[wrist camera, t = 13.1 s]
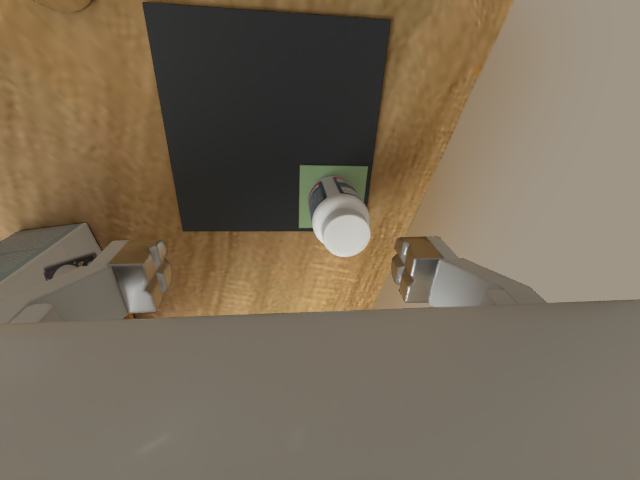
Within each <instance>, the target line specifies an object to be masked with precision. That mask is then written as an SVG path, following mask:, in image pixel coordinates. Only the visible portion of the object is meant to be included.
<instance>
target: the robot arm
mask: <svg viewBox="0 0 640 480" xmlns="http://www.w3.org/2000/svg"><path fill="white" fill-rule="evenodd" d="M394 249H395V250H396V252H397V254H396V255H395V256H394V257H393V258H392V264H391V273H392V277H393V280H394V282H395V283H396V284H398V285H399V286H400V288H399V292H400V294H401V296H402V298H403V300H404V302H405V303H429V304H430V305H431V306H432V307H429V308H403V309H379V310H351V311H326V312H300V313H274V314H248V315H222V316H196V317H170V318H143V319H123V318H124V317H126V316H127V315H128V314H129V313H145V312H156V311H157V309H158V307H159V305H160V303H161V301H162V299H163V296H162V293H163V292H164V291H166V290H168V288H169V286H170V283H171V277H172V272H171V265H170V263H169V262H168V261H167V260H166V259H165V258H164V257H165V255H166V253H167V249H166V245H165V243H164V242H163V241H162V240H116V241H112V242H111V243H110V244H109V245H108V246H107V247H106V248H105V249H104V250H103V251H102V252H101V253H100V254H99V255H98V256H97V257H96V258H95V259H94V260H93V261H92V262H91V263H90V264H89V265H88V266H82V267H79V268H77V269H74V270H72V271H70V272H67V273H65V274H62V275H60V276H58V277H55V278H53V279H50V280H48V281H46V282H43V283H41V284H38V285H36V286H34V287H31V288H29V289H26V290H24V291H22V292H19V293H17V294H14V295H12V296H10V297H7V298H5V299H2V300H0V480H640V300H613V301H588V302H561V303H547V302H546V301H545V300H544V299H542V298H541V297H540V296H539V295H538V294H537V293H536V292H535V291H534V290H533V289H532V288H530V287H529V286H526V285H524V284H522V283H519V282H517V281H515V280H512V279H510V278H508V277H505V276H503V275H501V274H498V273H496V272H494V271H492V270H489V269H487V268H484V267H482V266H480V265H478V264H475V263H473V262H471V261H468V260H466V259H464V258H458V257H457V256H456V254H455V253H454V252H453V251H452V250H451V249H450V248H449V247H448V246H447V245H446V244H445V242H444V241H443V240H442V239H441V238H440V237H438V236H430V237H400V238H397V240H396V242H395V247H394Z"/></svg>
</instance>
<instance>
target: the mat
mask: <svg viewBox="0 0 640 480" xmlns="http://www.w3.org/2000/svg"><path fill="white" fill-rule="evenodd" d="M142 3H143V9H144V14H145V20H146V26H147V31H148V37H149V43H150V48H151V54H152V59H153V65H154V71H155V76H156V82H157V88H158V93H159V99H160V104H161V110H162V116H163V121H164V127H165V133H166V138H167V144H168V149H169V155H170V161H171V166H172V172H173V178H174V183H175V189H176V194H177V200H178V206H179V211H180V217H181V223H182V228H183V231H314V230H313V227H312V222H311V217H310V212H309V207H308V195H309V192H310V190H311V188H312V186H313V185H314V184H315V183H316V182H317V181H319V180H320V179H322V178H325V177H328V176H339V177H342V178H345V179H346V180H348V181H349V182H350V183H351V184H352V185H353V186H354V188H355V189H356V191H357V193H358V194H359V196H360V197H361V199H362V201H363V202H364V204H365V205H366V207H367V204H368V196H369V188H370V180H371V172H372V164H373V156H374V148H375V140H376V132H377V124H378V116H379V108H380V100H381V92H382V84H383V76H384V68H385V60H386V52H387V44H388V36H389V28H390V20H382V19H369V18H355V17H341V16H328V15H314V14H300V13H286V12H273V11H259V10H245V9H232V8H218V7H204V6H191V5H177V4H163V3H150V2H142Z"/></svg>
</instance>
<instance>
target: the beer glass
mask: <svg viewBox="0 0 640 480" xmlns="http://www.w3.org/2000/svg"><path fill="white" fill-rule="evenodd" d="M33 1H34V2H36V3H38V4H40V5H42V6H44V7H46V8H48V9H51V10H53V11H57V12H62V13H72V12H77V11H80V10H82V9H84V8H85V7H86V6H87V5H88V4H89V3H90V2H91V1H92V0H33Z"/></svg>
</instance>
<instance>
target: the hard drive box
mask: <svg viewBox="0 0 640 480" xmlns="http://www.w3.org/2000/svg"><path fill="white" fill-rule="evenodd" d="M101 252H102V251H101V249H100V247H99V245H98V244H97V242H96V240H95V238H94V236H93V234H92V232H91V231H90V229H89V227H88V225H87V223H79V224H71V225H63V226H55V227H48V228H40V229H32V230H26V231H19V232H15V233H14V234H12V235H11V236H9V237H8V238H6V239H4V240H2V241H0V300H2V299H5V298H7V297H10V296H12V295H14V294H17V293H19V292H22V291H24V290H26V289H29V288H31V287H34V286H36V285H38V284H41V283H43V282H46V281H48V280H50V279H53V278H55V277H58V276H60V275H62V274H65V273H67V272H70V271H72V270H74V269H77V268H79V267H82V266H88V265H89V264H90V263H91V262H92V261H93V260H94V259H95V258H96V257H97V256H98V255H99V254H100V253H101ZM123 319H135V318H134V316H133V313H129V314H128V315H127V316H126V317H124V318H123Z"/></svg>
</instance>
